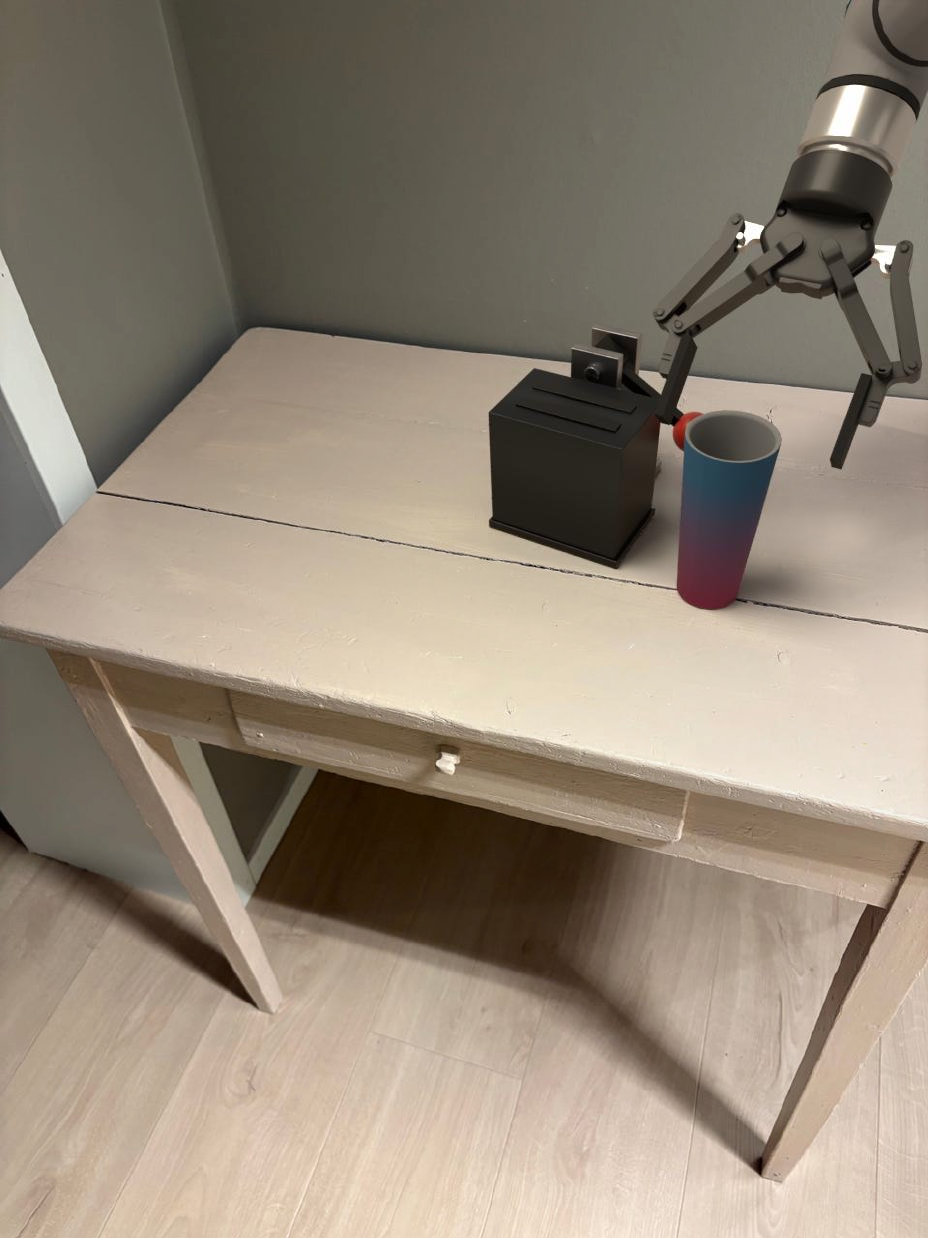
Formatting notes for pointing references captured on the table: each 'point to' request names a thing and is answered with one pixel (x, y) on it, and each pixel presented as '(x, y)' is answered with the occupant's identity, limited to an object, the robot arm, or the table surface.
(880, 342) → the robot arm
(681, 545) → the cup
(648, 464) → the toaster
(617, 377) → the bracket
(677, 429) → the lever
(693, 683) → the table surface
